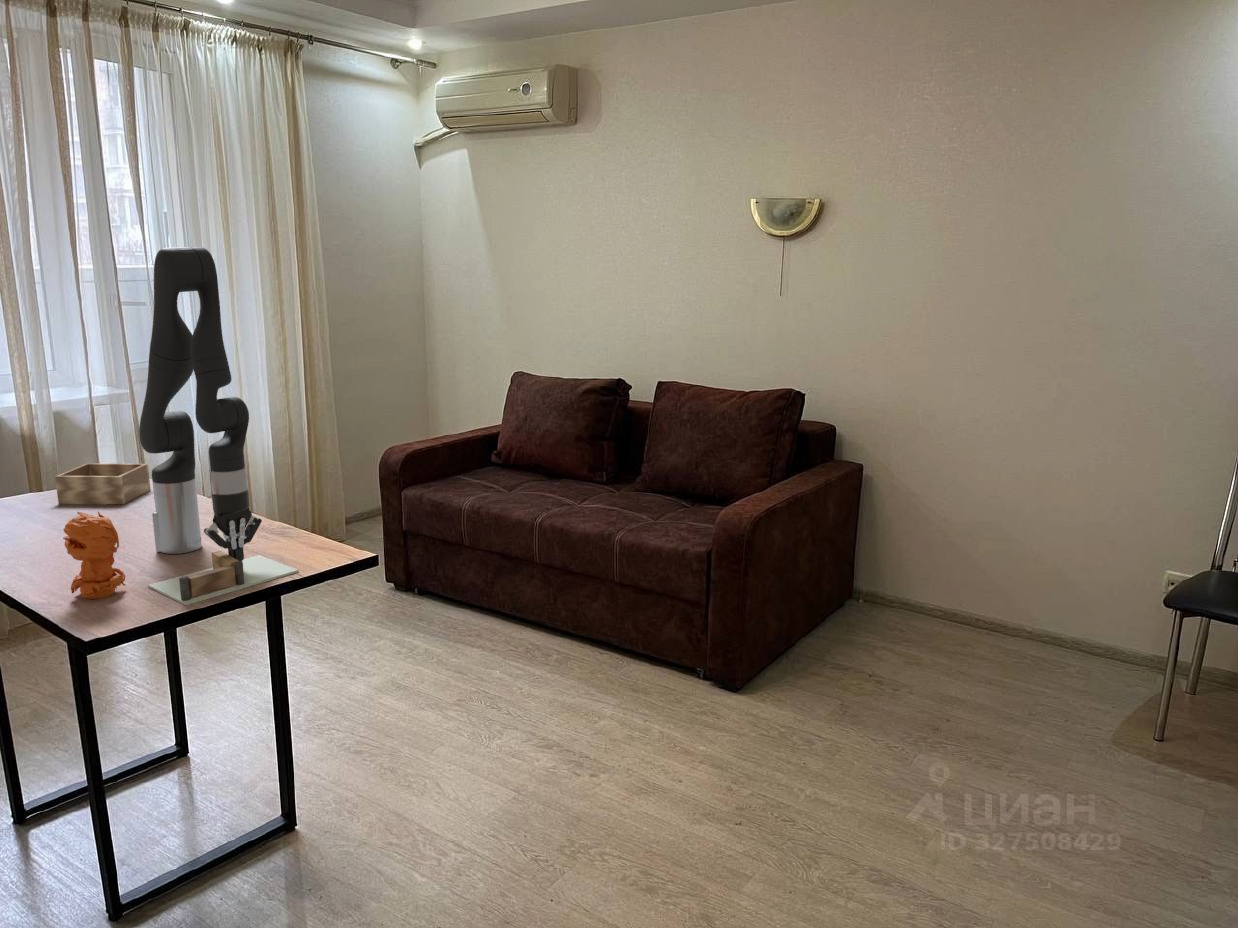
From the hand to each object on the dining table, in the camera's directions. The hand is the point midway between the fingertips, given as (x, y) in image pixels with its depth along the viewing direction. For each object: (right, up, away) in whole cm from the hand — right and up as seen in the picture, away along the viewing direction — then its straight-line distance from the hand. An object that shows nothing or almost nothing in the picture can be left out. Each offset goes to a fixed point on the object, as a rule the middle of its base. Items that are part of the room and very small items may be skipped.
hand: (236, 563), depth 207 cm
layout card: (-1, -3, -4) cm, 5 cm away
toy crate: (-63, +13, +60) cm, 88 cm away
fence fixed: (0, -5, -12) cm, 13 cm away
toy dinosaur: (-24, -5, -13) cm, 28 cm away
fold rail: (-1, -2, -3) cm, 4 cm away
